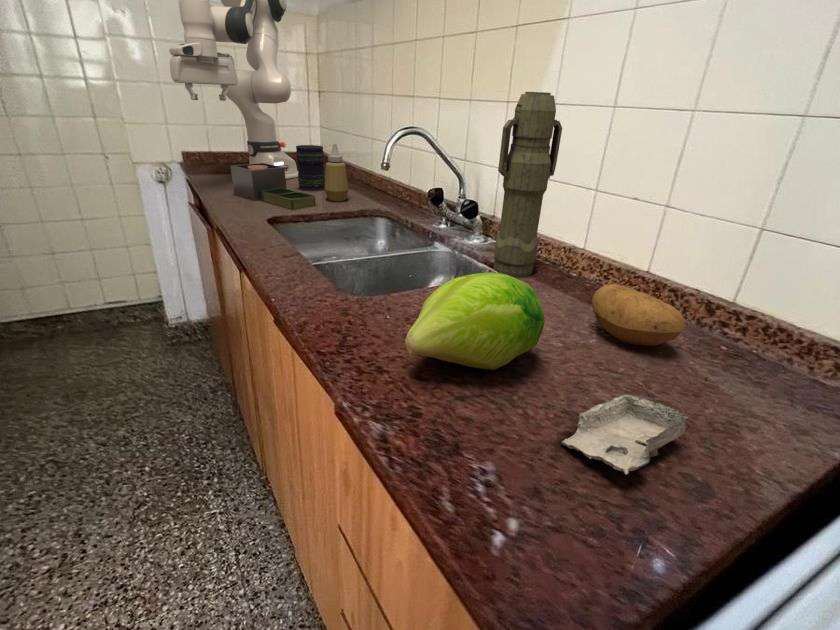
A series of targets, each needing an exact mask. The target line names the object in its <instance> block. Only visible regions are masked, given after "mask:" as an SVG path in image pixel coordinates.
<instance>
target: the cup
mask: <svg viewBox="0 0 840 630" xmlns="http://www.w3.org/2000/svg"><path fill="white" fill-rule="evenodd" d="M248 169H249V170H259V169H268V166H264V165H251V166H248Z"/></svg>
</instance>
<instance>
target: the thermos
mask: <svg viewBox="0 0 840 630" xmlns="http://www.w3.org/2000/svg"><path fill="white" fill-rule="evenodd" d="M556 114H557V109H556V101H555V95H552V93H551V92H542V91H525V92H524V93H521V94H520V97H519V99H518V100H517V104H516V106H515V108H514V115H513V118H512V119H508V120H507V121H506V122H505V124H504V126H503V127H502V133H501V143H500V151H499V159H498V168H497V171H498V173H500V175H501V176H502V177H503V182H502V188H503V201H502V209H501V217H500V223H499V231H498V234H497V236H496V238H495V244H494V253H493V259H494V261H493V267H492V269H493V270H494V271H495V272H496V273H504V274H506V275H509V276H511V277H519V278H520V277H528V276H530V275H532V274H533V273H534V264H535V262H536V259H537V253H538V247H539V241H538V240H539V239H538V231H539V224H540V219H541V213H542V206H543V199H544V195H545V193H546V192H547V189H548V184H549V179H551V177H554V175H555V171H556V167H557V162H558V156H559V150H560V144H561V138H562V132H563V127H562V124H561V121H560V120H558V119H556ZM511 132H512V133H511ZM511 136H512V141H511ZM510 142H511V143H510ZM550 144H551V146H550Z"/></svg>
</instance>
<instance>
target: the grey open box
mask: <svg viewBox="0 0 840 630" xmlns="http://www.w3.org/2000/svg"><path fill="white" fill-rule="evenodd" d="M251 165H264V166H268V169H259V170H249V169H248V166H251ZM229 167H230V175H231V180H232V187H233V194H234V196H239V197H242V198H245V199H248V200H251V201H260V200H261V199H260V191H263V190H270V189H277V188H286V189H287V179H285V168H284V167H280V166H276V165H271V164H266V163H256V164H249V163H247V164H245V163H244V164H235V165H230V166H229ZM261 201H262V200H261Z"/></svg>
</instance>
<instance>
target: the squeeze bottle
mask: <svg viewBox="0 0 840 630" xmlns="http://www.w3.org/2000/svg"><path fill="white" fill-rule="evenodd" d="M331 147H332V148H331V154H329V155H328V156H327V159H328V160H327V161H328V162H326V163H325V170H324V174H325V182H324V183H325V189H324V192H325V195H326V197H327V200H328V201H331V202H343V201H346V199H347V197H348V193H349V182H348V175H347V167H346V163H345V162H343V155H340V152H339V148H338V144H337V143H333V144H332V146H331Z"/></svg>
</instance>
